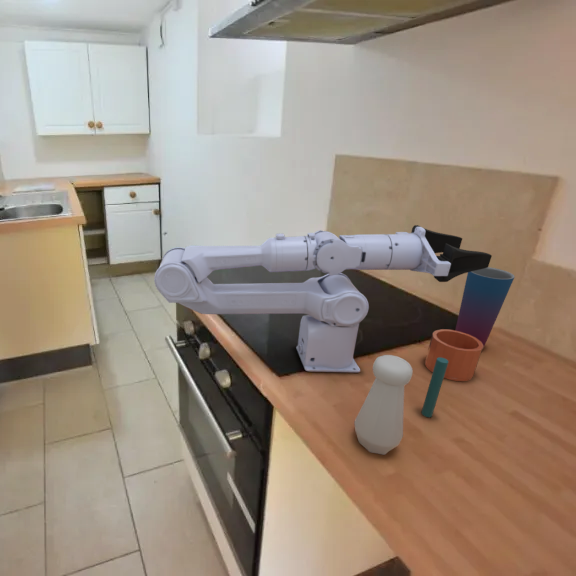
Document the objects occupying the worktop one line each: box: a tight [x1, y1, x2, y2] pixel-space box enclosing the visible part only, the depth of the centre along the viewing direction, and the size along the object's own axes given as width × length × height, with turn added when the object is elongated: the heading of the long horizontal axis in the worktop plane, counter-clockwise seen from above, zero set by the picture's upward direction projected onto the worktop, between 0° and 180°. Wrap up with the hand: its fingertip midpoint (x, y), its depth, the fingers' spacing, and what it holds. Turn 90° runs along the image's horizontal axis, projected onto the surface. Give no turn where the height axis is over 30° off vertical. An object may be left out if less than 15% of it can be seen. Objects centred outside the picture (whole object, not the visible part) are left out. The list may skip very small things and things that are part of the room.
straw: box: [420, 357, 448, 418], centre depth 54 cm, size 1×1×10 cm
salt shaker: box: [353, 354, 413, 456], centre depth 49 cm, size 6×6×13 cm
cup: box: [455, 266, 515, 349], centre depth 72 cm, size 7×7×15 cm
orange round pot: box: [424, 328, 484, 382], centre depth 66 cm, size 7×7×6 cm
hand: (473, 251), depth 60 cm, fingers open, 7 cm apart
